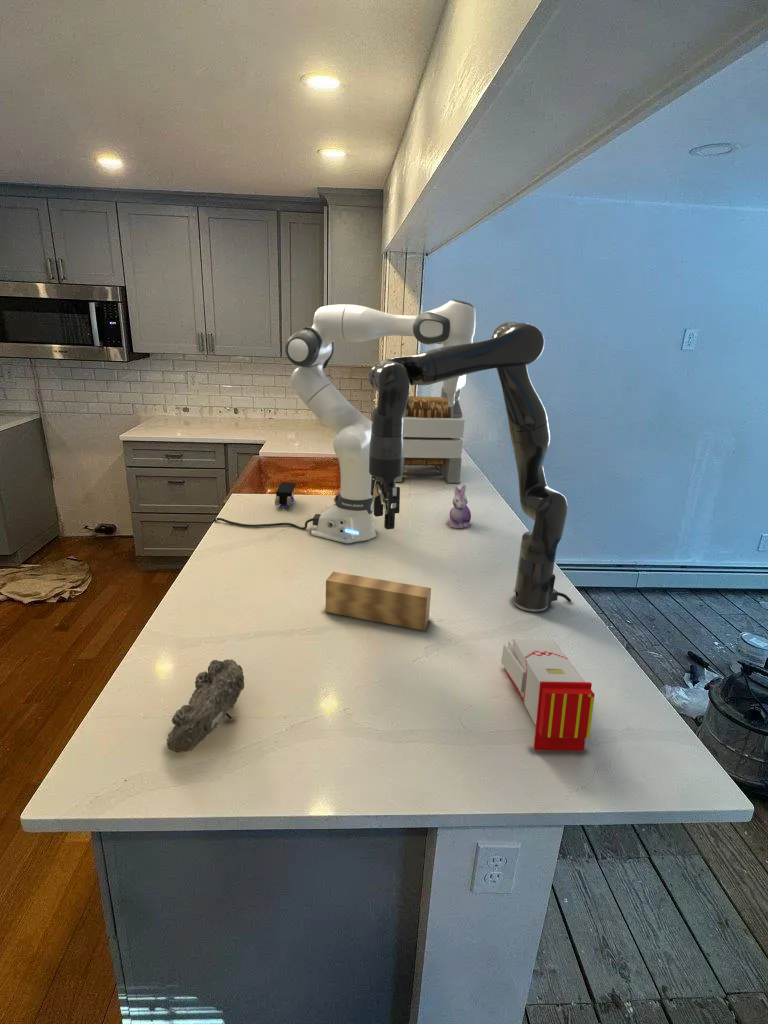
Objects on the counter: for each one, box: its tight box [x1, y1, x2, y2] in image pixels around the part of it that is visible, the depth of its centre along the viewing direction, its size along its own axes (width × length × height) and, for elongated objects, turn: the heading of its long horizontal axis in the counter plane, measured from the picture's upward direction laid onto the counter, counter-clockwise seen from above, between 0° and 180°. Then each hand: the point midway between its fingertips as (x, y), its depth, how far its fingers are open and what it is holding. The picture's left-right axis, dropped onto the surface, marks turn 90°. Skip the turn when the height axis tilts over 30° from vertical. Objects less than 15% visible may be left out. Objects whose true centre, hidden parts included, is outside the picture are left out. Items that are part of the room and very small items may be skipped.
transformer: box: [394, 386, 465, 484], centre depth 268 cm, size 34×33×41 cm
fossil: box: [166, 658, 245, 754], centre depth 106 cm, size 22×10×15 cm
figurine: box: [448, 484, 472, 529], centre depth 208 cm, size 9×10×15 cm
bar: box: [325, 571, 432, 631], centre depth 145 cm, size 26×5×9 cm, turn 74°
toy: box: [500, 637, 595, 752], centre depth 114 cm, size 12×13×30 cm
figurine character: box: [274, 481, 297, 510], centre depth 222 cm, size 7×8×15 cm
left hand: (453, 404), depth 174 cm, fingers open, 8 cm apart
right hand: (383, 522), depth 131 cm, fingers open, 8 cm apart
